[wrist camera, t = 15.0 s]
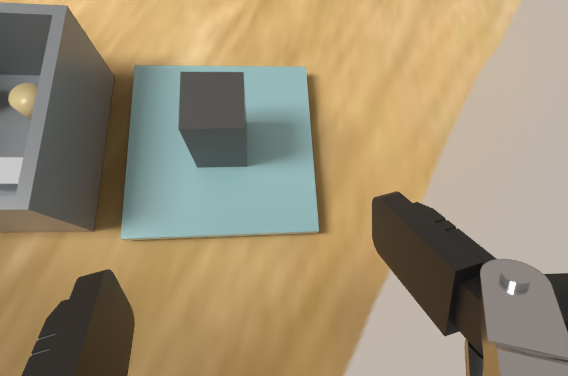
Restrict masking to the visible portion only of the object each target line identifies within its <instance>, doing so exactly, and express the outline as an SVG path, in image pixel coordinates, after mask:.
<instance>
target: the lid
mask: <svg viewBox="0 0 568 376" xmlns="http://www.w3.org/2000/svg"><path fill="white" fill-rule="evenodd" d="M317 232H319V224H318V212H317V199H316V187H315V174H314V162H313V149H312V137H311V124H310V112H309V99H308V87H307V74H306V67H263V66H141V65H135V68H134V80H133V93H132V105H131V117H130V129H129V141H128V154H127V166H126V178H125V190H124V202H123V214H122V227H121V239H122V240H125V241H127V240H153V239H178V238H204V237H229V236H255V235H280V234H306V233H317Z"/></svg>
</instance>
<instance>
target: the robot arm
mask: <svg viewBox="0 0 568 376" xmlns="http://www.w3.org/2000/svg"><path fill="white" fill-rule="evenodd" d="M372 238H373V243H374V246H375V248H376V250H377V252H378V254H379V255H380V256H381V258H382V259H383V260H384V261H385V263H386V264H387V265H388V266H389V268H390V269H391V270H392V271H393V273H394V274H395V275H396V276H397V277H398V279H399V280H400V281H401V283H402V284H403V285H404V286H405V287H406V289H407V290H408V291H409V292H410V294H411V295H412V296H413V297H414V299H415V300H416V301H417V302H418V304H419V305H420V306H421V307H422V309H423V310H424V311H425V312H426V313H427V315H428V316H429V317H430V319H431V320H432V321H433V322H434V324H435V325H436V326H437V327H438V329H440V331H441V332H442V334H443V335H444V336H447V335H450V334H453V333H456V332H459V331H460V332H461V333H462V334H463V336H464V337H465V338H466V340H465V360H466V376H568V273H566V274H565V273H564V274H543V273H541V272H540V271H539V270H537V269H536V268H534V267H532V266H530V265H528V264H525V263H523V262H519V261H516V260H510V259H496V258H495V257H493V256H492V255H491V254H490V253H488V252H487V251H486V250H485V249H483V248H482V247H480V246H479V245H478V244H477V243H476V242H475V241H473V240H472V239H471V238H469V237H468V236H467V235H466V234H464V233H463V232H462V231H461V230H459V229H456V227H455V226H454V225H453V224H452V223H451V222H449V221H448V220H447V221H446V219H445V218H444V217H443V216H442V215H440V214H439V213H438V212H437V211H436V210H434V209H433V208H430V207H428V206H425V205H423V204H420V203H418V202H415V203H412V202H410V201H409V200H408V199H407V198H406V197H405V196H403V195H402V194H401V193H400V192H392V193H389V194H385V195H381V196H378V197H375V198H374V199H373V201H372ZM133 333H134V315H133V311H132V308H131V305H130V303H129V302H128V300H127V298H126V296H125V294H124V292H123V290H122V288H121V287H120V285H119V283H118V281H117V279H116V277H115V275H114V274H113V272H112V271H111V270H109V269H107V270H104V271H100V272H96V273H93V274H89V275H85V276H82V277H79V278H78V279H77V281H76V283H75V286H74V288H73V291H72V293H71V296H70V299H68V300H64V301H61V302H60V303H59V305H58V306H57V307H56V308H55V309H54V311H53V312H52V313H51V314H50V315H49V316H48V318H47V319H46V321H45V323H44V325H43V328H42V330H41V332H40V335H39V337H38V338H39V341H36V344H35V346H34V348H33V351H32V356H31V357H29V360H28V362H27V364H26V367H25V369H24V371H23V374H22V376H127V374H128V367H129V360H130V354H131V347H132V340H133Z"/></svg>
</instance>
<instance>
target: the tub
mask: <svg viewBox="0 0 568 376" xmlns="http://www.w3.org/2000/svg"><path fill="white" fill-rule="evenodd" d="M114 77H115V76H114V75H113V73H112V72H111V70H110V69H109V67H108V66H107V64H106V63H105V61H104V60H103V58H102V57H101V55H100V54H99V52H98V51H97V50H96V48H95V47H94V45H93V44H92V42H91V41H90V39H89V38H88V36H87V35H86V33H85V32H84V30H83V29H82V27H81V26H80V24H79V23H78V21H77V20H76V18H75V17H74V15H73V14H72V12H71V11H70V9H69V8H68V6H63V5H41V4H20V3H0V232H84V231H94V226H95V219H96V211H97V204H98V196H99V189H100V181H101V174H102V167H103V159H104V152H105V144H106V137H107V129H108V122H109V114H110V107H111V99H112V92H113V85H114Z"/></svg>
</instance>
